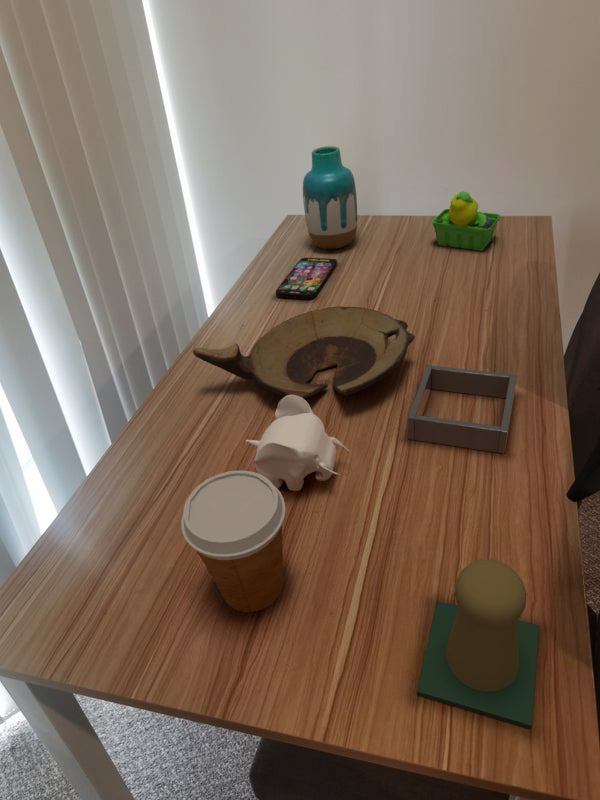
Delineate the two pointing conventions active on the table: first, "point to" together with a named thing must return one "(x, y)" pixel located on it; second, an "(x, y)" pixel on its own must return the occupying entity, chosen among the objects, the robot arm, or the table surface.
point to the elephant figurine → (295, 446)
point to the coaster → (449, 689)
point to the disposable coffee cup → (238, 536)
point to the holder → (458, 430)
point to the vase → (330, 200)
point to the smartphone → (306, 278)
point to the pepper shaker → (486, 626)
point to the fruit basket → (465, 224)
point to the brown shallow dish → (319, 351)
